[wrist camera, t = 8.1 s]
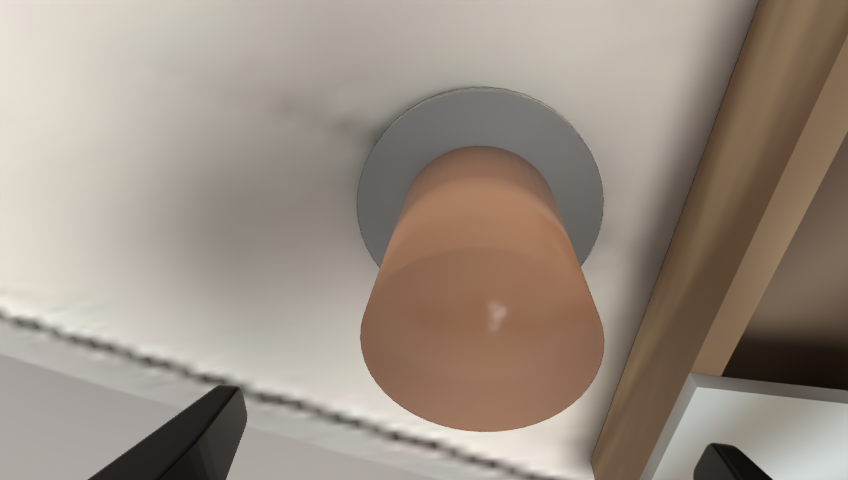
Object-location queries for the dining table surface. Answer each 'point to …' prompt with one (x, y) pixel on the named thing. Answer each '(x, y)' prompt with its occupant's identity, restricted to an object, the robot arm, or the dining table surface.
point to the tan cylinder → (481, 299)
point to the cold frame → (753, 275)
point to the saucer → (480, 126)
